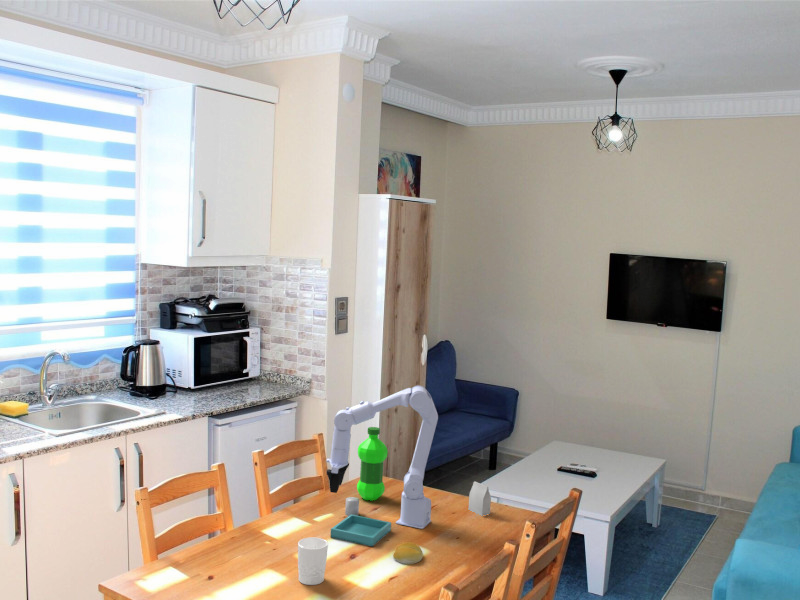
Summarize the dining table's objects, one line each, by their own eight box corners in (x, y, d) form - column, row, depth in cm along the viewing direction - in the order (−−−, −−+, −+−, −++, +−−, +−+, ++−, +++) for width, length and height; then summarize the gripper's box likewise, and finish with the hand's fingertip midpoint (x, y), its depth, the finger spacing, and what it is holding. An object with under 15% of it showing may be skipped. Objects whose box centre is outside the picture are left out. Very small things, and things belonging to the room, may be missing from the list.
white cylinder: (360, 513, 251) (361, 498, 250) (354, 517, 247) (355, 502, 246) (348, 510, 252) (349, 496, 252) (342, 514, 248) (343, 500, 248)
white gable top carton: (481, 517, 253) (483, 487, 252) (468, 510, 258) (470, 482, 258) (489, 515, 255) (491, 486, 254) (476, 508, 261) (478, 480, 260)
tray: (390, 530, 237) (391, 522, 236) (372, 546, 224) (372, 537, 223) (350, 522, 242) (351, 514, 242) (330, 537, 229) (330, 528, 229)
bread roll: (391, 563, 213) (391, 549, 213) (396, 550, 222) (397, 537, 222) (419, 566, 212) (420, 553, 212) (424, 554, 221) (425, 540, 220)
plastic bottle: (357, 492, 271) (361, 423, 269) (386, 494, 270) (390, 426, 268) (353, 501, 261) (356, 430, 259) (383, 504, 260) (387, 433, 258)
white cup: (297, 572, 204) (298, 536, 203) (326, 573, 204) (328, 537, 204) (295, 586, 196) (297, 549, 195) (326, 586, 197) (327, 549, 196)
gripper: (332, 440, 250) (327, 479, 251) (324, 451, 236) (319, 493, 237) (353, 443, 250) (348, 482, 251) (346, 454, 235) (341, 497, 236)
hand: (335, 488), depth 244 cm, fingers open, 7 cm apart
